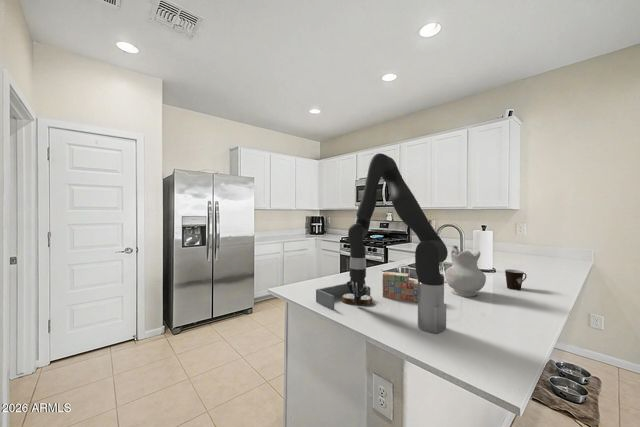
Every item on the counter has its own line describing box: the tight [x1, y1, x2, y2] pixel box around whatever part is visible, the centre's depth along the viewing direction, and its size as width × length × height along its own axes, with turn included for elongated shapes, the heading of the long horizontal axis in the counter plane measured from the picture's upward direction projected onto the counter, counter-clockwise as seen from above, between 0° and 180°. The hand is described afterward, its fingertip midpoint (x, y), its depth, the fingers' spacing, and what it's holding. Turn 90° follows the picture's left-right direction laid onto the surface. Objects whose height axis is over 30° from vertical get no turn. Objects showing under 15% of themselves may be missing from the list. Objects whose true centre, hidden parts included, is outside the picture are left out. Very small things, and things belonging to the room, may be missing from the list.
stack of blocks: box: [382, 271, 418, 303], centre depth 137 cm, size 21×6×12 cm, turn 64°
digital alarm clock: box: [341, 294, 373, 306], centre depth 131 cm, size 15×3×8 cm
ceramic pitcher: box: [444, 245, 487, 298], centre depth 146 cm, size 22×20×25 cm
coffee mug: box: [504, 268, 527, 291], centre depth 154 cm, size 12×9×10 cm
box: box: [315, 282, 371, 311], centre depth 133 cm, size 13×24×6 cm, turn 125°
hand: (357, 304), depth 125 cm, fingers closed
